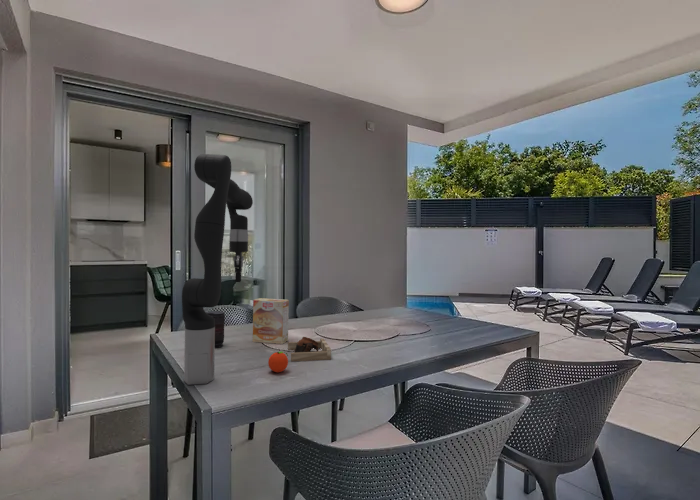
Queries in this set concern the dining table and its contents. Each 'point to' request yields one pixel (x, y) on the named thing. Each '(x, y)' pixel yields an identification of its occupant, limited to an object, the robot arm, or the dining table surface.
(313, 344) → the pottery mug
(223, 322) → the camera lens
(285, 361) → the clementine
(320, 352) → the beige wooden tray
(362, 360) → the dining table surface
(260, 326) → the coffeecake box
